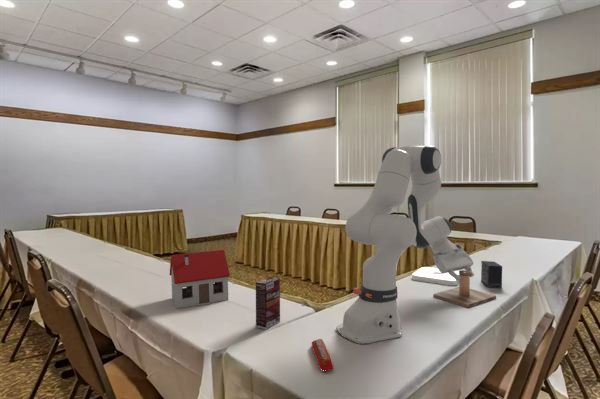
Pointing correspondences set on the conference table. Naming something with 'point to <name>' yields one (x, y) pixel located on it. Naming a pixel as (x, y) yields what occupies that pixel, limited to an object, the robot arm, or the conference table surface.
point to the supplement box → (267, 302)
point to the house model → (199, 278)
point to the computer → (434, 276)
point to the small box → (491, 274)
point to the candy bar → (322, 355)
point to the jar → (464, 283)
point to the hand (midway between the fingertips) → (465, 278)
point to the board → (464, 297)
